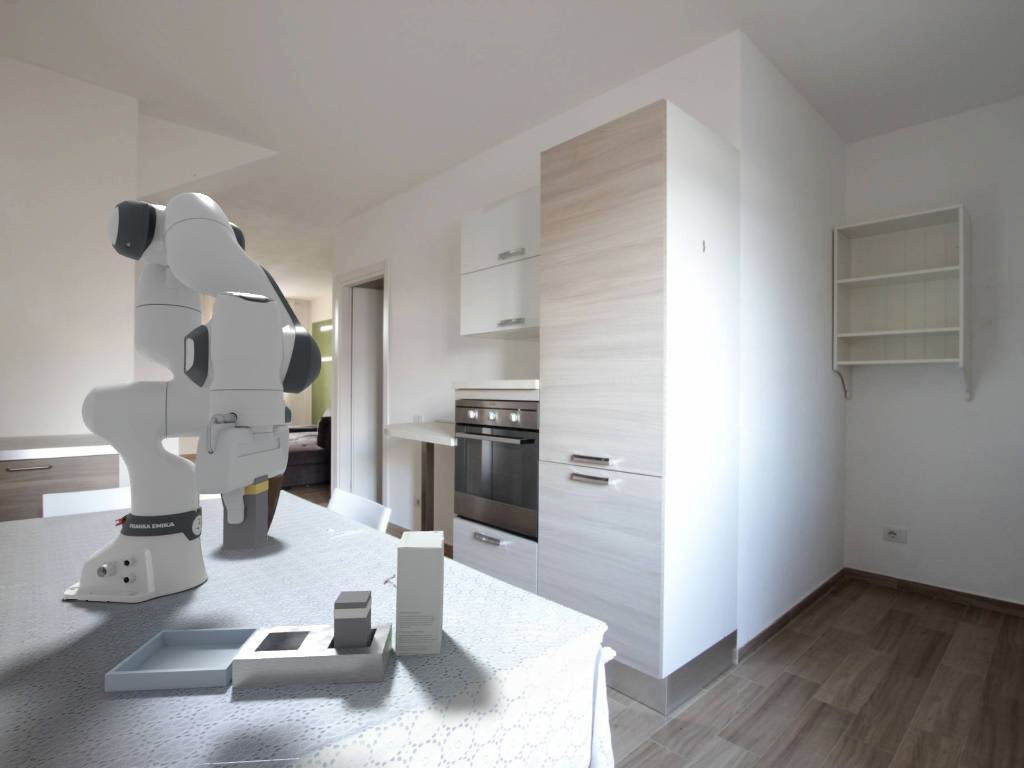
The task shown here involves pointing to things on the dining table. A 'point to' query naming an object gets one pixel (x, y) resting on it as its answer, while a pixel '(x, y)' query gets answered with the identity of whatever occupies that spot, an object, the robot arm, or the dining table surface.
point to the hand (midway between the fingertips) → (246, 518)
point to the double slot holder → (309, 657)
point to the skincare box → (419, 593)
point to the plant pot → (272, 496)
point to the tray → (181, 660)
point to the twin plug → (352, 619)
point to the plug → (249, 519)
